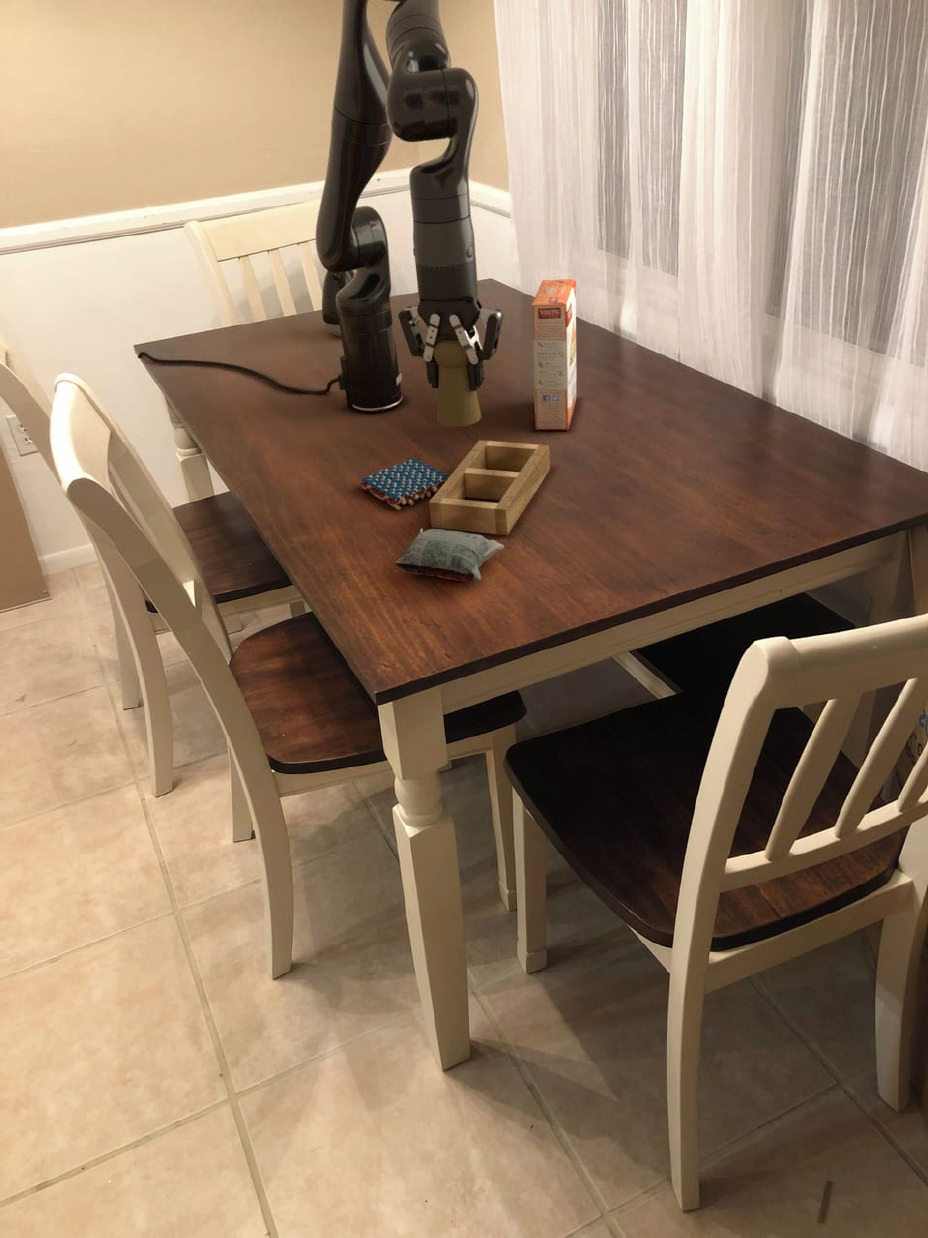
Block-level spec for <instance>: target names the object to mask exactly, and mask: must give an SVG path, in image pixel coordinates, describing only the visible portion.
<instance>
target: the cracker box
mask: <svg viewBox="0 0 928 1238" xmlns="http://www.w3.org/2000/svg"><path fill="white" fill-rule="evenodd" d="M531 333H532V335H531V336H532V337H531V338H532V365H533V392H534V394H533V395H534V420H535V421H534V424H535V430H536V431H569V429H570V425H571V422H572V417H573V414H574V411H575V405H576V402H577V280H576V279H572V278H569V279H568V278H562V279H561V278H560V279H543V280H542V281H541V283H540V286H539V288H538V290H537V292H536V294H535V296H534V298H533V301H532V303H531Z"/></svg>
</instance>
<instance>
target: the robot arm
mask: <svg viewBox="0 0 928 1238" xmlns="http://www.w3.org/2000/svg"><path fill="white" fill-rule="evenodd" d="M369 1H370V0H342V18H341V35H340V47H339V54H338V63H337V70H336V78H335V85H334V92H333V101H332V111H331V122H330V137H329V147H328V148H329V149H328V157H327V164H326V165H327V166H326V173H325V178H324V179H325V180H324V185H323V190H322V194H321V199H320V204H319V208H318V214H317V218H316V225H315V248H316V253H317V257H318V259H319V262H320V264H321V265H322V266H323V268H324V269H325V270H326V271H327V270H328V271H330V272H332V273H343V272H348V271H352V270H353V271H355V272H354V273H355V275H354V277H353V278H352V280H351V281H350V282H349V283H348V284H347V285H346V286H345V287H344V288H343V289H342V290H340V291H339V292H338V294H337V296H336V307H337V313H338V319H339V325H340V332H341V337H340V338H341V343H342V350H343V354H341V355H340V357H339V360H340V367H341V368H340V369H341V373H339V374H338V375H337V377H335V378H333V379H331V380H329V381H328V382H327V385H326V388H324V389H321V390H308V389H303V388H298V387H293V386H288V385H286V384H285V385H284V384H282V383H280V382H278V381H277V380H275V379H273V378H271V377H269V376H267V375H265V374H263V373H261V372H259V371H256V370H253V369H250V368H248V367H244V366H240V365H236V364H232V363H226V362H219V361H211V360H210V361H209V360H195V359H194V360H192V359H161V358H155V357H153V356H151V355H150V354H149V353H147V352H145V351H141V352H139V354H138V355H137V359H141V358H143V356H144V357H145V358H147V359H148V360H150V361H152V362H154V363H159V364H189V365H190V364H191V365H206V366H215V367H224V368H230V369H234V370H238V371H242V372H245V373H249V374H251V375H254V376H256V377H259V378H260V379H263V380H265V381H266V382H269V383H271V384H273V385H274V386H276V387H278V388H280V389H282V390H286V391H289V392H295V393H299V394H305V395H306V394H307V395H324V394H327V393H329V392H330V390H331V387H332V386H333V385H334V384H337V383H338V387H339V390H340V391H344V392H345V393H344V394H345V399H346V404H347V408H348V409H352V410H355V411H356V412H360V413H366V414H367V413H368V414H372V413H373V414H375V413H381V412H386V411H391V410H394V409H395V408H397V407H400V405H402V404H403V402H404V398H403V393H402V391H403V390H402V386H401V381H402V380H403V376H402V375H403V374H402V372H400V369H399V363H398V353H397V347H396V346H397V345H396V338H395V330H394V323H393V314H392V308H391V307H392V306H391V292H392V279H391V277H392V276H391V267H390V265H391V264H390V251H389V240H388V234H387V230H386V226H385V223H384V221H383V219H382V216H381V214H380V213H379V212H378V211H377V210H376V209H375V207H373V206H370V205H361V206H357V205H358V202H359V200H360V197H361V196H362V193H363V192H364V190H365V189H366V187H367V186H368V184H369V182H370V181H371V180H372V178H373V177H374V175H375V174H376V173H377V171H378V170H379V169H380V167H381V165H382V163H384V160H385V158H386V157H387V155H388V153H389V150H390V148H391V145H392V141H393V138H394V135H395V136H396V137H397V138H398V139H399V140H400V141H403V142H406V143H421V142H427V141H437V140H446V139H448V143H447V146H446V148H445V150H444V151H443V153H441V155H438V156H437V157H435V158H432V159H431V160H427V161H425V162H422V163H420V164H417V165H416V166H414V167H413V168H412V169H411V170H410V172H409V175H408V176H409V179H408V180H409V181H408V185H409V195H410V202H411V203H410V204H411V212H412V245H413V248H412V251H413V253H412V254H413V257H414V263H415V273H416V282H417V292H418V297H419V302H418V304H417V306H411V305H408V306H406V307H404V308H403V309H402V310H401V311H400V312H399V313H398V315H397V316H398V320H399V323H400V326H401V329H402V332H403V335H404V338H405V341H406V344H407V347H408V349H409V353H410V355H411V356H413V357H420V358H422V359H423V360H424V362H425V368H426V380H427V382H428V384H429V385H431V388H432V389H438V380H439V364H438V363H437V362H436V359H435V357H434V348H435V345H436V343H437V341H438V340H439V339H444V338H448V337H450V338H453V339H459V342H460V344H461V346H462V348H463V349H465V350H466V353H467V356H468V359H469V361H470V363H469V377H470V389H471V391H476V392H477V391H478V390H479V389H480V388H481V387H482V385H483V384H484V383H485V366H484V361H489V360H490V359H491V358H492V357H493V356H494V355H495V354H496V353H497V350H498V344H499V340H500V335H501V329H502V324H503V319H504V312H503V310H502V309H500V308H497V309H495V310H491V309H488V308H485V307H483V305H482V303H481V302H480V299H479V286H478V285H479V284H478V269H477V257H476V241H475V240H476V239H475V232H474V231H475V230H474V227H473V222H472V221H473V220H472V213H471V212H472V211H471V199H470V198H471V197H470V183H469V178H470V177H469V176H470V161H471V152H472V146H473V141H474V135H475V130H476V126H477V120H478V116H479V108H480V94H479V88H478V86H477V83H476V81H475V79H474V77H473V75H472V74H471V73H470V72H469V71H468V70H467V69H464V67H457V66H456V67H455V66H454V67H452V59H451V55H450V50H449V47H448V44H447V40H446V37H445V33H444V30H443V26H442V22H441V16H440V0H382V1H384V2H391V3H398V4H396V5H395V7H394V9H393V10H392V12H391V13H390V16H389V18H388V20H387V24H386V27H385V46H386V50H387V54H388V55H387V56H388V60H389V64H390V67H391V73H390V72H389V70H388V67H387V65H386V63H385V61H384V59H383V57H382V55H381V53H380V51H379V48H378V45H377V43H376V39H375V37H374V34H373V31H372V28H371V25H370V20H369V13H368V11H369V10H368V7H369ZM420 318H421V319H420ZM479 319H481V321H482V326H483V328H485V334H484V340H483V345H482V344H481V341H480V334H479V332H478V330H477V328H476V324H477V322H478V320H479ZM420 320H422V321H423V322H424V323H425V325H426V326H427V328H428V331H427V334H426V338H425V339H424V336H423V333H422V331H421V327H420V324H419V322H420Z"/></svg>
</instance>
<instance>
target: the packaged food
mask: <svg viewBox="0 0 928 1238" xmlns="http://www.w3.org/2000/svg"><path fill="white" fill-rule="evenodd" d="M504 549H505V546H504V544H502V543H500V542H499V543H498V541H497V540H494V539H487V538H486V537H484V535H481V534H475V533H469V532H464V531H459V530H447V529H443V528H431V529H426V530H424V531H423V528H420V530H419V533H418V534H417V535H416V537H415V538H414V540H413V541H412V543H411V545H410V546H409V547H408V549H407V551H406V552H405V553H404V554H403V556H401V557H400V558H398V559H397V560H396V561H395V562H394V564H395V565H396V567H398V568H400V569H403V570H404V571H406V572H407V573H409V574H412V575H420V576H430V577H436V578H441V579H447V580H452V581H458V582H459V581H461V582H471V581H473V580H476V581H479V582H480V581H481V580H482V575H481V572H480V567H482V565H483V564H484V563H485V562H486V561H487V560H489V559H490V558H491V557H492V556H494V555H495V554H496V553H497V552H499V551H501V550H504Z"/></svg>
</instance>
